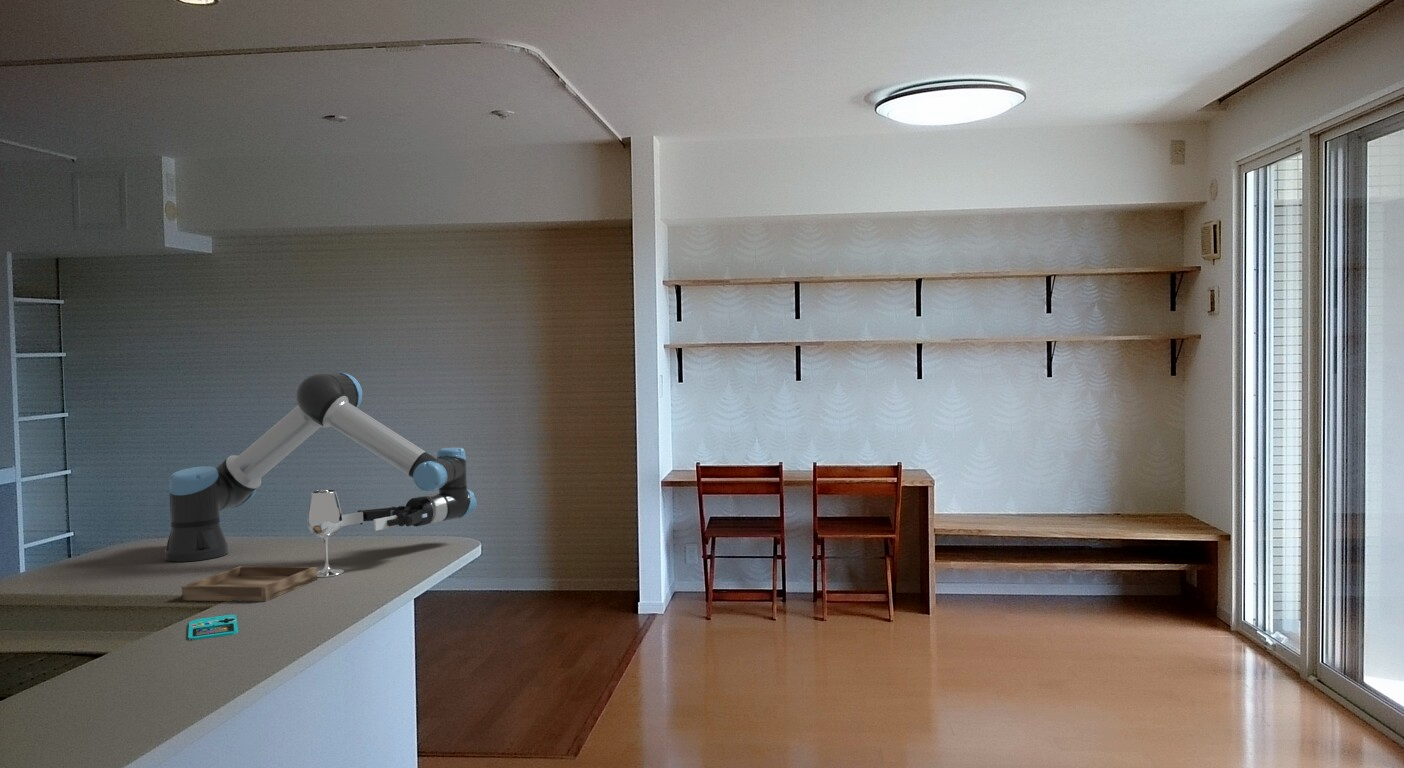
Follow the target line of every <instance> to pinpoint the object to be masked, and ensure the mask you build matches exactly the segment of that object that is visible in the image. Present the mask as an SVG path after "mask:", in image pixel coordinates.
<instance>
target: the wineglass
mask: <svg viewBox="0 0 1404 768" xmlns="http://www.w3.org/2000/svg"><path fill="white" fill-rule="evenodd" d="M342 515H343V514H342V509H341V504H340V501H339V497H338V494H337V490H336V489H321V490H314V491H311V493H310V498H309V504H308V510H307V526H308V529H309V531H310V532H311V533H312V534H313V535H314V536H315V537H317V538H320V539H322V541H323V545H324V546H323V547H324V567H323V568H322V569H321V570H317V578H328V577H329V578H330V577H334V576H339V575H341V574H343V573H344V572H345V571H344V570H343V569H341V568H331V566H330V564H329V549H328V546H329V539H330V538H332V537H333V536H335V535H336V534H337V533H338V532H339V531H340V529H341V528H342V526H341V525H342Z"/></svg>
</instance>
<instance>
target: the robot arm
mask: <svg viewBox="0 0 1404 768" xmlns="http://www.w3.org/2000/svg"><path fill="white" fill-rule="evenodd" d="M295 398H296V403H297V405H296V406H295V407H294V408H293V409H291V410H290V411H289V412H288V413H286V415H284V416H283V417H282V418H281V419H280V420H278V421H277V422H276V423H275V424H274V425H272V426H271V428H269V429H268V430H267V431H266V432H264V433H263V434H262V435H261V436H260V437H258V438H257V440H255V441H254V442H253V443H251V444H250V445H249V446H248V447H247V448H246V449H244V451H242V452H241V453H240V454H239V455H237V454H236V455H234V454H232V455H230V456H228V457H227V458H226V459H224V460H223V461H222V462H221V463H219V464H218V466H216V467H214V466H211V465H210V466H208V465H207V466H206V465H205V466H195V467H190V468H183V469H180V470H177V471H175V472H174V473H172V474H171V475H170V476H169V479H168V481H169V482H168V484H169V485H168V493H169V511H170V533H169V537H168V540H167V543H166V546H165V547H166V548H165V550H164V560H165V561H167V562H177V563H178V562H194V561H202V560H210V559H215V558H220V557H223V556H226V555H228V553H229V544H228V542H227V540H226V537H225V534H224V532H223V530H222V527H221V522H220V521H221V520H220V519H221V518H220V511H223V510H228V509H234V508H237V507H240V506H243V505H244V504H246V503H247V502H249V501H250V500H251V499H252V498H253V497H254V495H255V494H256V491H257V489H258V488H259V487H260V486H261V485H262V478H263V477H264V476H265V475H266V474H268V472H270V471H271V470H272V469H273V468H274V467H276V466H277V465H278V464H279V463H280V462H281V461H283V460H284V459H285V458H286V457H287V456H288V455H290V454H291V453H292V452H293V451H294V450H296V449H297V448H298V447H299V446H300V445H301V444H302V443H304V442H305V441H306V440H307V439H308V438H309V437H311V436H312V435H314V434H315V432H317V431H318V430H319V429H320V428H330V427H331V428H334V429H335V430H337V431H338V432H339V433H341V434H343V435H344V436H345V437H346V438H347V437H348V438H349V439H350V440H352V441H353V442H355V443H357V444H358V445H360V446H361V447H363V448H365V449H367V450H368V451H370V452H371V453H372V454H375V456H377V457H379V458H381V460H384V461H385V462H387V463H388V464H389V465H391V466H393V467H395V468H397V470H399V471H401V472H403V473H404V474H405V475H407V476H409V477H410V478H412V480H413V482H414V485H416V487H417V488H418V489H420V490H422V491H425V492H429V491H437V490H438V493H433V494H428V495H423V496H417V497H413V498H410V499H409V500H408V501H407V502H406V505H397V506H390V507H382V508H374V509H372V508H371V509H362V510H361V509H359V510H357V512H352V513H347V514H342V525H341V527H348V526H352V525H357V524H359V525H363V523H364V522H371V521H372V522H373V531H375V532H377V531H382V530H387V529H391V528H397V527H398V526H399V527H403V526H406V527H410V526H413V527H421V526H426V525H428V524H432V525H434V526H435V525H437V523H441V522H445V521H450V520H456V519H461V518H464V517H465V518H466V517H468V516H470V515H472V514H473V513H474V512H475V511H476V508H477V504H478V503H477V502H478V501H477V498H476V496H475V494H474V492H473V490H471V489H468V487H467V457H466V451H465V448H463V447H443V448H439V449H438V450H437V452H436V453H437V454H436V455H437V457H435V456H433V455H432V454H430V453H429V452H427V451H425V450H424V449H422V448H421V447H419V446H417V445H416V444H415V443H413V442H411V441H410V440H408V439H406V438H405V437H404V436H402V435H400V434H398V433H397V432H395V431H394V430H392V429H391V428H389V427H388V426H386V425H384V424H383V423H382V422H380V421H379V420H376V419H375V418H373V417H372V416H371V415H369V414H367V413H366V412H364V411H363V410H361V409H360V408H359V407H360V405H361V403H362V401H363V389H362V386H361V384H360V382H359V381H358V379H357V378H355V377H354V376H352V375H351V374H350V373H344V372H340V371H337V372H331V373H329V372H328V373H314V374H312V375H308V376H307V377H305V378H304V379H303V380H302V381H301V382H300V383H299V385H298V386H297V389H296V394H295Z"/></svg>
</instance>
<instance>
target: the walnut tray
mask: <svg viewBox="0 0 1404 768" xmlns="http://www.w3.org/2000/svg"><path fill="white" fill-rule="evenodd" d="M317 571H318V567H317V566H249V565H248V566H246V565H244V566H243V565H242V566H240V565H239V566H237V567H234V568H231V569H228V570H225V571H223V572H220V573H216V574H213V575H210V576H208V577H206V578H201V579H200V580H197V581H193V582H191V583H188V584H185V585H181V600H182V601H211V602H213V601H216V602H218V601H220V602H221V601H222V602H224V601H225V602H229V601H230V602H233V601H232V600H253V601H252V602H267V600H268V601H270V600H272V599H275V598H278V597H279V596H282V595H284V593H285V594H287V593H289V592H291V591H294V590H296V589H299V588H301V587H303V585H304V586H306V585H308V584H311V583H312V582H315V581H317V580H318V577H317Z"/></svg>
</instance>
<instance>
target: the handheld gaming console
mask: <svg viewBox="0 0 1404 768" xmlns="http://www.w3.org/2000/svg"><path fill="white" fill-rule="evenodd" d="M226 626H229V627H230V630H227V627H226ZM217 627H220V628H222V629H219V630H218V632H214V631H215V630H214V631H213V630H212V628H215V629H216V628H217ZM224 627H225V628H224ZM203 629H206V630H208V631H207V632H206V633H203V634H197V631H196V630H200V631H203ZM222 630H225V631H222ZM226 630H227V631H226ZM211 631H212V633H210V632H211ZM207 633H209V634H207ZM236 633H237V634H239V628H238V620H237V615H236V614H226V615H220V616H211V617H204V618H197V619H194V620H191V621H189V622H188V636H187V639H188V638H189V639H199V640H203V639H202V638H206V639H211V637H213V638H218V637H217V636H220V637H225V636H226V637H227V636H234V635H236Z"/></svg>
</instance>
